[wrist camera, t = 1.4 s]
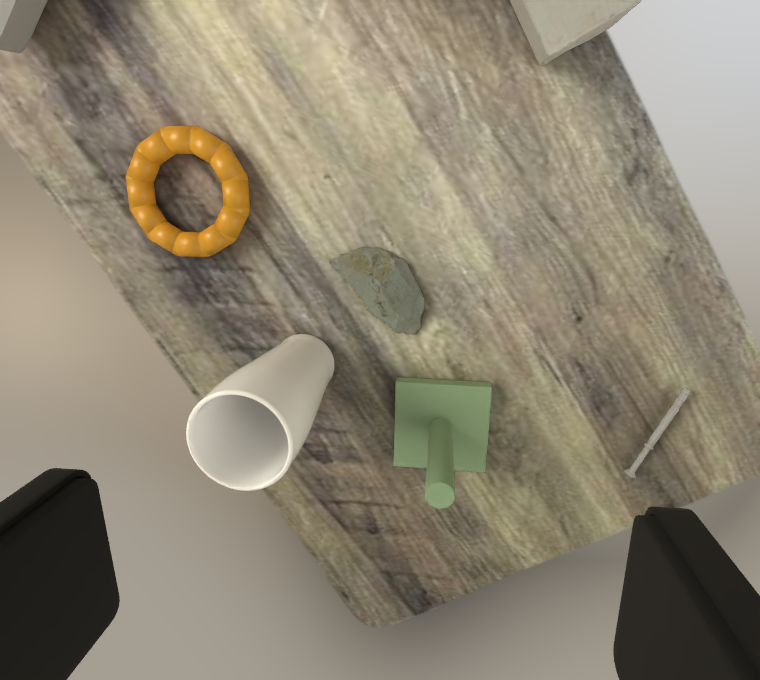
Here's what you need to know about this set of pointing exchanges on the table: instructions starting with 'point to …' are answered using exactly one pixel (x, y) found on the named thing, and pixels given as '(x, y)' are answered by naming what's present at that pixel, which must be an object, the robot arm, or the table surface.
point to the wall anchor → (658, 431)
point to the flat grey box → (18, 22)
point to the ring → (144, 199)
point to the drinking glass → (261, 414)
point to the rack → (441, 431)
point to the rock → (384, 286)
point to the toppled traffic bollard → (566, 22)
